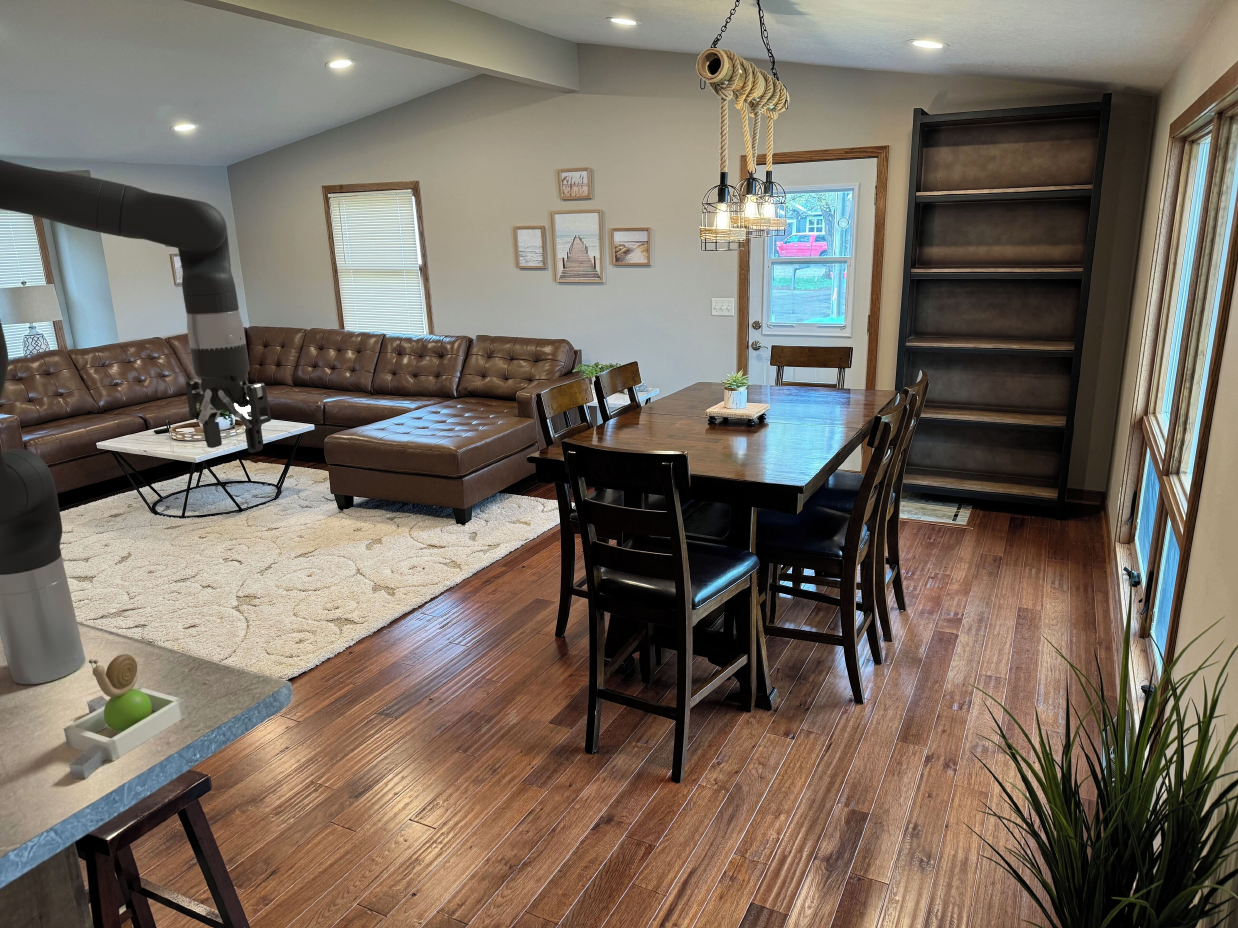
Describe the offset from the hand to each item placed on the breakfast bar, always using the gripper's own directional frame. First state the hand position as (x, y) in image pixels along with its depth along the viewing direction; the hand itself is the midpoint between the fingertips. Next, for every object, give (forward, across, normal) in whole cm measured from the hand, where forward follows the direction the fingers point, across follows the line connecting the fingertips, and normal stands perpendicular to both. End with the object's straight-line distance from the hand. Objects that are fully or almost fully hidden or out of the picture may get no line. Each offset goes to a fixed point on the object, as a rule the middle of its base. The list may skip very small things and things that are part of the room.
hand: (235, 448), depth 130 cm
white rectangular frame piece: (+30, -4, +31) cm, 43 cm away
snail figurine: (+30, -6, +28) cm, 42 cm away
